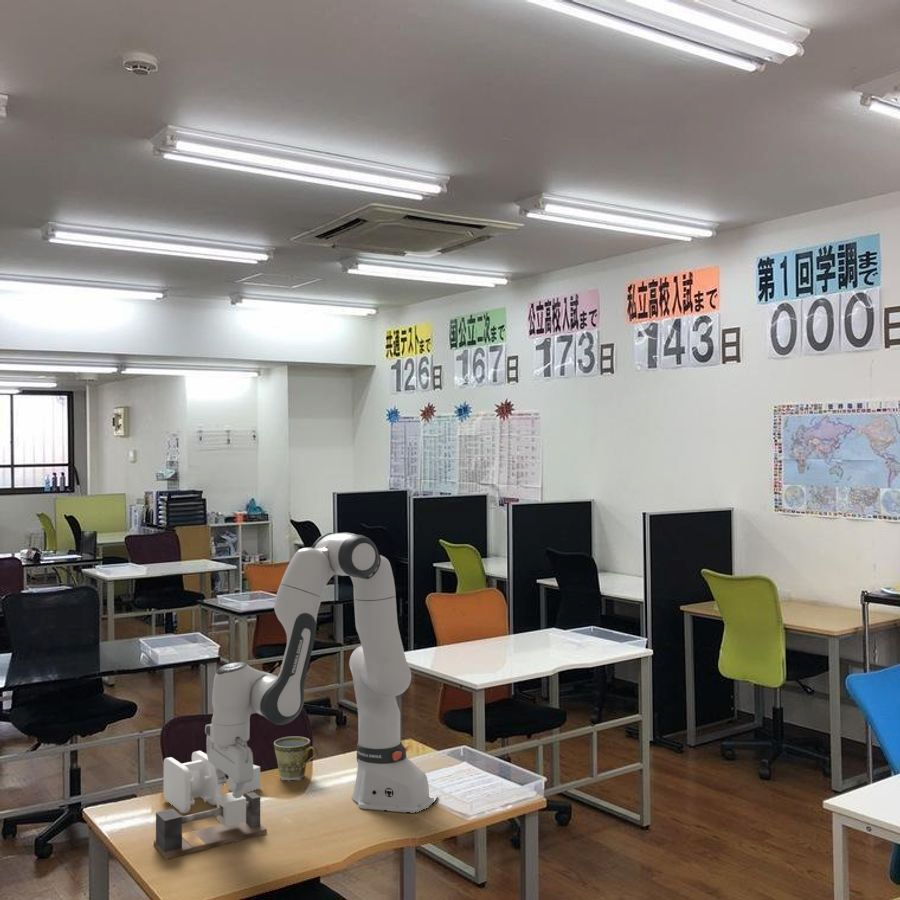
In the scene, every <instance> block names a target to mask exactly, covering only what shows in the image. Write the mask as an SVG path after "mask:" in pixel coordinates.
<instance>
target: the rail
mask: <svg viewBox="0 0 900 900" xmlns="http://www.w3.org/2000/svg"><path fill="white" fill-rule="evenodd" d="M245 798H246V822H244V823H239V824H235V825H231V826H227V827H225V826H224V825H223V824H222V823H221V824H218V825H214V826H209V827H205V828H200V829H197V830H193V831H191V830H190V831H187V832H183V825H184V824H187V823H193V822H196V821H201V820H205V819H208V818H209V819H210V818H213V817H217V816H218V815H222V814H223V807H221V808H217V807H216V808H211V809H208V810H204V811H200V812H196V813H193V814H187V815H181V814H180V813H178V812H177V810H175V809H174V808H170V809H165V810H161V811H157V812H155V840H154V841H153V846H154V848H156V849H157V850H158V851H159V852H160V854H163V855H164V856H163V855H162V856H163V857H164V858H165V859H166V858H169V859H171V858H175V857H176V858H177V857H180V856H183V855H187V854H192V853H195V852H199V851H203V850H207V849H211V848H214V846H215V847H218V845H219V846H222V845H221V844H223V845H226V844H225V843H227V844H229V842H231V843H234V842H233V841H235V842H238V841H237V840H239V841H242V840H246V839H249V837H250V838H254V837H258V836H261V835H260V834H262V835H265V834H264V833H266V834H267V831H268V830H267V828H266V827H265V826H264V825H262V824H261V796H260V795H258V794H257V793H256V792H255V791H252V792H249V793H246V794H245ZM257 835H258V836H257ZM245 838H246V839H245ZM210 847H211V848H210Z"/></svg>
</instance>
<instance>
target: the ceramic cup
mask: <svg viewBox="0 0 900 900" xmlns="http://www.w3.org/2000/svg"><path fill="white" fill-rule="evenodd" d="M310 745H311V740H310V739H309V738H307V737H304V736H285V737H281V738H278V739H276V740H274V742H273V747H274V754H275V758H276V762H277V763H276V764H277V767H278V774H279V778H280V780H282V779H283V780H282V781H284V780H297V781H300V780H302V779H304V778H305V773H306V767H307V764H308V763H309V762H310V761H312V759H314V758H315V757H316V756H317V754H318V752H317V749H316V747H315V746H310ZM310 750H313V751H314V755H313V756H312V757H310V758H309V759H308V756H309V751H310ZM303 777H304V778H303ZM301 778H302V779H301ZM299 779H300V780H299Z"/></svg>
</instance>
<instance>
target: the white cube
mask: <svg viewBox="0 0 900 900" xmlns="http://www.w3.org/2000/svg"><path fill="white" fill-rule="evenodd" d="M232 794H233V793H232V791H231V792H228V793H221V795H218V796H217V804H216V809H217V808H221V807H223V814H222V815H218V816H216V820H217V821H218V822H220V823H221V824H223V825H224V826H225V827H227V826H231V825H235V824H239V823H244V822H246V796H245V795H242V797H240V798H234V797H233V796H232Z"/></svg>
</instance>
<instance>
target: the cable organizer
mask: <svg viewBox="0 0 900 900" xmlns="http://www.w3.org/2000/svg"><path fill="white" fill-rule="evenodd" d="M218 795H222V786H219V785H218V784H217V775H216V771H215V766H214V765H213V764H211V763H210V762H209V761H208V757H207V753H206V752H203V751H202V750H197V751H193V752H192V754H191V761H187V762H184V763H183V762H182V763H181V762H180V761H178V760H177V759H175V758H174V757H171V756H170V757H166V758H164V760H163V796H164V799H165V801H166V802H167V803H168V802H169V803H170V804H171V805H170V804H169V803H168V804H169V805H170V806H172V805H173V806H172V807H174V808H175V809H177V811H178V810H179V811H178V812H180V813H181V814H182V813H184V814H187V813H188V812H190V809H191V805H192V804H193V805H195V802H196V800H195V798H199V797H200V799H203V802H204V803H206V802H207V803H208V802H209V805H211V806H212V805H213V806H217V796H218Z"/></svg>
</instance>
